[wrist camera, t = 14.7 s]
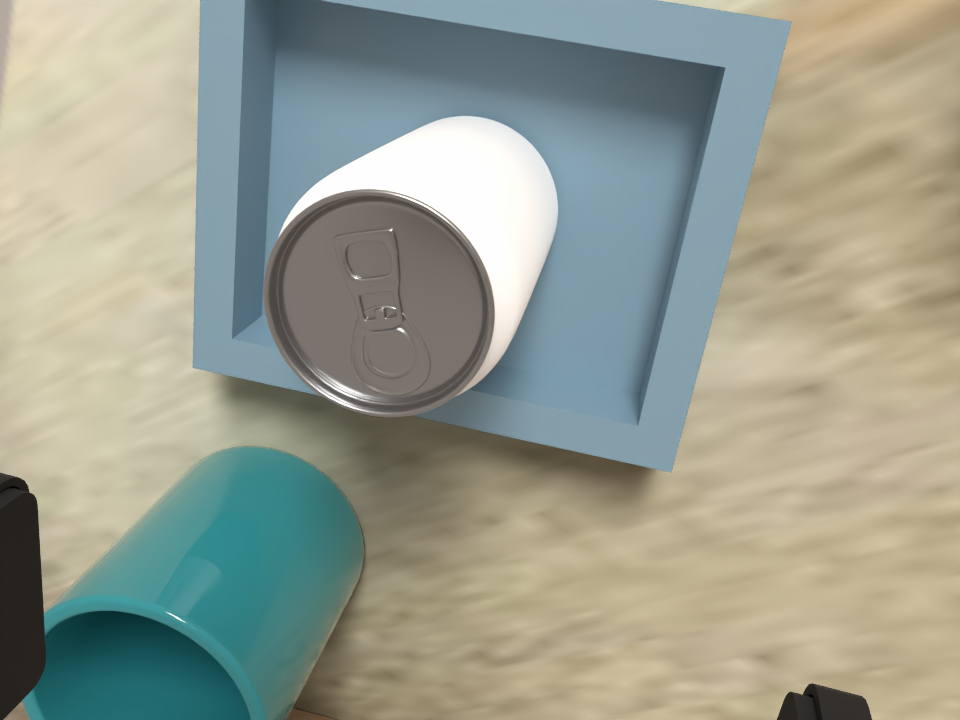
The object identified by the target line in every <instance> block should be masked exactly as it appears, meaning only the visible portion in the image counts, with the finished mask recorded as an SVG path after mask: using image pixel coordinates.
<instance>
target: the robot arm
mask: <svg viewBox="0 0 960 720" xmlns="http://www.w3.org/2000/svg"><path fill="white" fill-rule="evenodd" d="M45 664H46V644H45V627H44V610H43V592H42V575H41V558H40V540H39V523H38V506H37V500H36V498H35V496H34V495H33V494H31V493H29V489H28V485H27V484H26V482H25V481H24V480H22V479H20V478H18V477H14V476H11V475H7V474H3V473H0V720H3V719H4V718H5V717H6V716H7V715H8V714H9V713H10V712H11V711H12V710H13V709H14V708H15V707H16V706H17V705H18V704H19V703H20V702H21V701H22V700H23V699H24V698H25V697H26V696H27V695H28V694H29V693H30V692H31V691H32V690H33V688H34V687H35V686H36V685H37V683H38V681H39V680H40V678H41V676H42V674H43V671H44V668H45ZM777 720H872V718H871V714H870V710H869V707H868V704H867V702H866V700H865V699H864V698H863V697H862V696H859V695H855V694H851V693H847V692H843V691H839V690H836V689H832V688H828V687H824V686H820V685H816V684H809V685H808V686H807V688H806V689H805V691H804V693H803V695H801V694H798V693H794V692H789V693H788V694H787V695H786V697H785V699H784V702H783V704H782V707H781V710H780V713H779V716H778V718H777Z"/></svg>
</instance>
